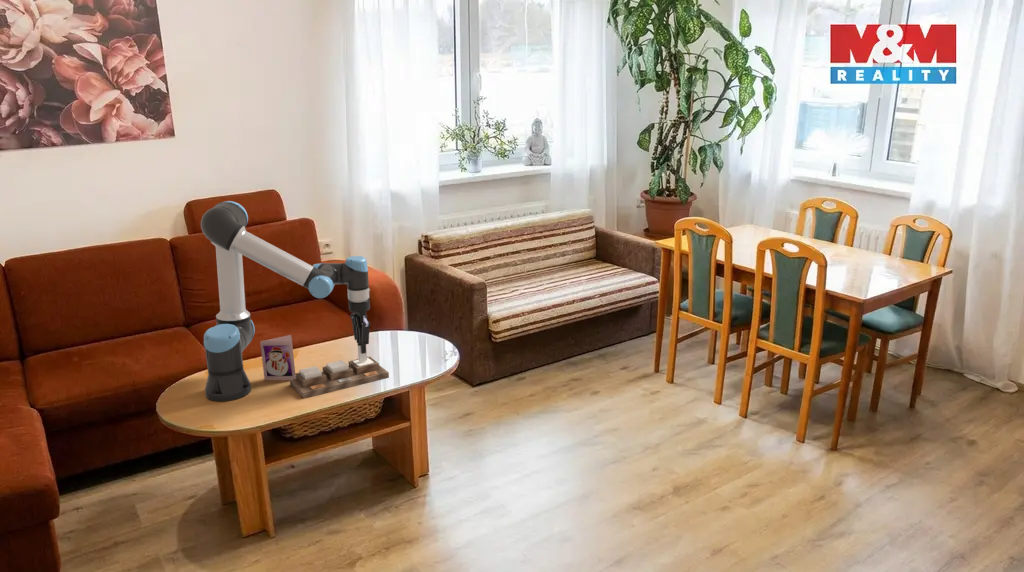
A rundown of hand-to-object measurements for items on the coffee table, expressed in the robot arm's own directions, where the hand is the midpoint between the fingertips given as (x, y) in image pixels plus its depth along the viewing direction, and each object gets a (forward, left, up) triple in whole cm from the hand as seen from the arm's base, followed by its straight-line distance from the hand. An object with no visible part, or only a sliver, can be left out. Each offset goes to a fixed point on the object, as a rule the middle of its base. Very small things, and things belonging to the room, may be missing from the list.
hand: (362, 360), depth 291 cm
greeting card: (-26, +14, -5) cm, 30 cm away
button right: (0, 0, -3) cm, 3 cm away
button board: (-10, -2, -5) cm, 11 cm away
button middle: (-10, 0, -2) cm, 10 cm away
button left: (-20, 0, -2) cm, 20 cm away
